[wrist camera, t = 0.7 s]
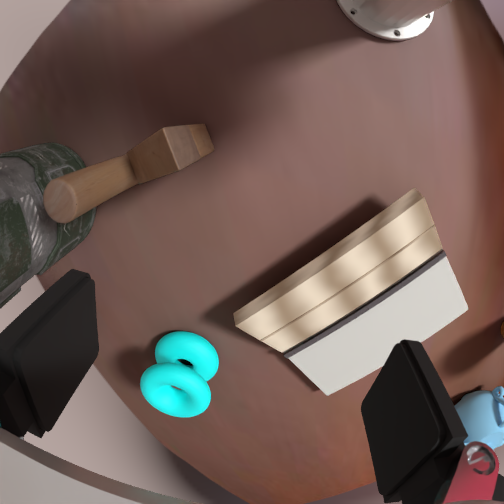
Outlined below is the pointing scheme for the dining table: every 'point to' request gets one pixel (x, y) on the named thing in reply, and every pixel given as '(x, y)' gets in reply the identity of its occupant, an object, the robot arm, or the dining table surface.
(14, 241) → the canister
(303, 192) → the dining table surface
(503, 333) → the glass of beer
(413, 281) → the board
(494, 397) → the decorative pot
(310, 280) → the plank
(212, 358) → the donuts
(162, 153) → the wooden block
